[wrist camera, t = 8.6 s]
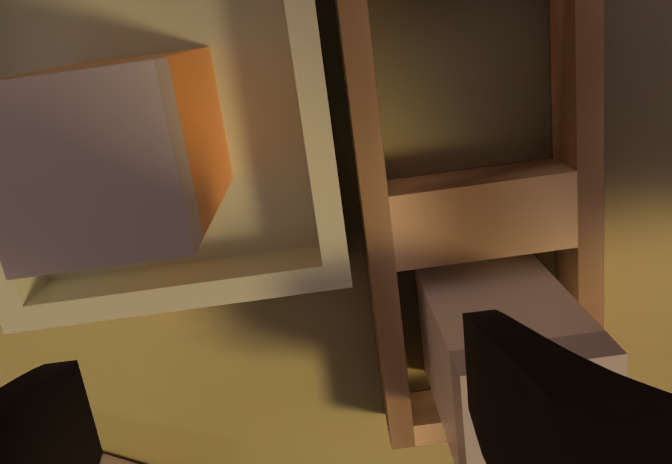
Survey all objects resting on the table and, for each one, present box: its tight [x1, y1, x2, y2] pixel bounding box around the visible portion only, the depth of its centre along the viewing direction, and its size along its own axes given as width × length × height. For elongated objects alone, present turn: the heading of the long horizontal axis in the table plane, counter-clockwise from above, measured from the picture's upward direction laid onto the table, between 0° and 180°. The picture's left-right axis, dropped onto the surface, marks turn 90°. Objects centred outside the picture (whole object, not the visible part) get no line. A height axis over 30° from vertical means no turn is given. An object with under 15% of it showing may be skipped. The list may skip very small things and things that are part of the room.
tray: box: [0, 0, 353, 334], centre depth 19 cm, size 11×11×2 cm
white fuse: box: [415, 254, 627, 464], centre depth 19 cm, size 4×4×7 cm
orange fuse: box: [0, 46, 233, 280], centre depth 16 cm, size 4×4×7 cm
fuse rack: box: [334, 0, 605, 449], centre depth 19 cm, size 7×23×2 cm, turn 7°
